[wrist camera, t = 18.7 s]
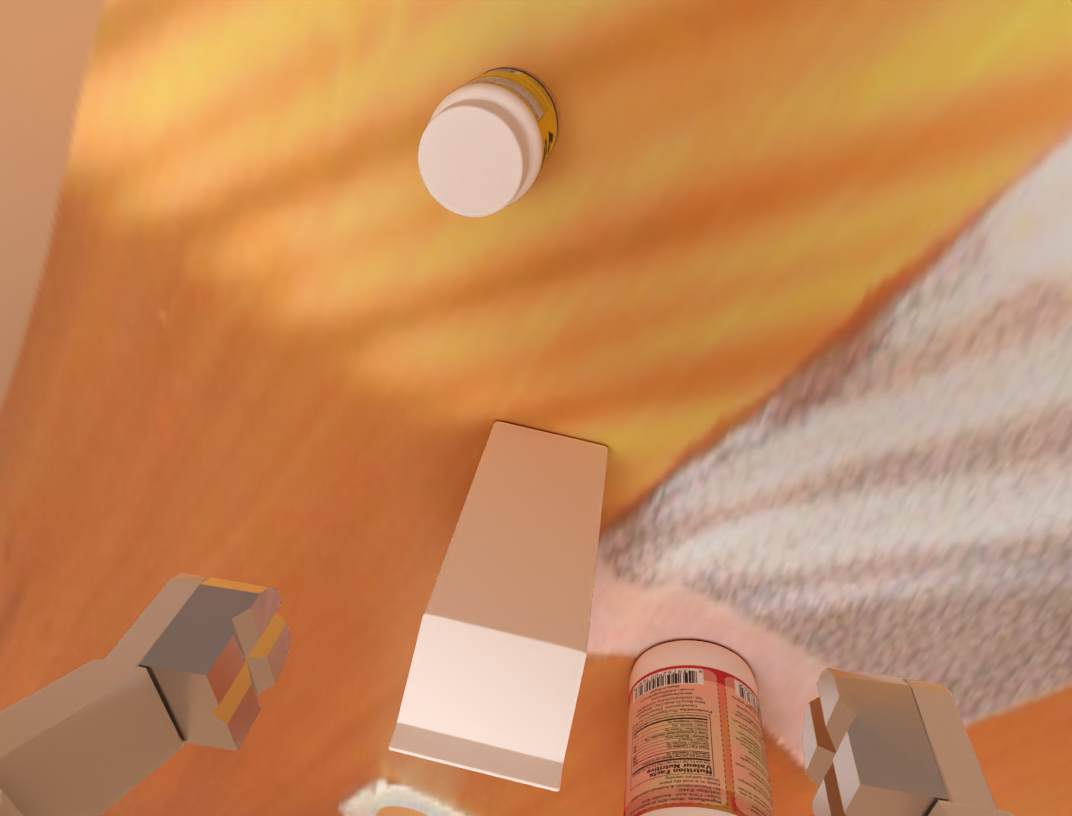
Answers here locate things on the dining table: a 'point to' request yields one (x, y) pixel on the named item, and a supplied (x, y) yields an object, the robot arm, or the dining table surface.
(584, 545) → the milk carton
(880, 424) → the dining table surface
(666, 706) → the fruit juice
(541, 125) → the supplement bottle
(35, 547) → the dining table surface
